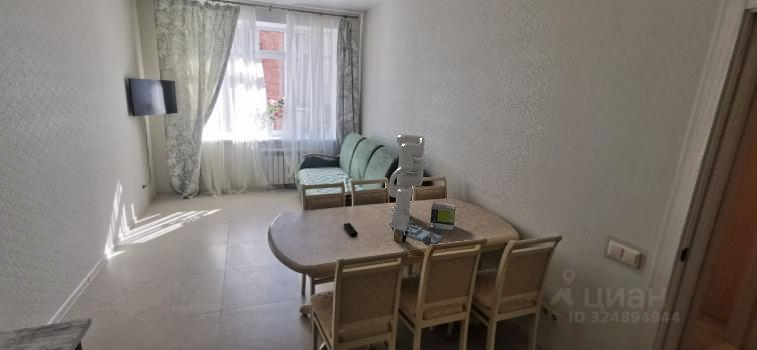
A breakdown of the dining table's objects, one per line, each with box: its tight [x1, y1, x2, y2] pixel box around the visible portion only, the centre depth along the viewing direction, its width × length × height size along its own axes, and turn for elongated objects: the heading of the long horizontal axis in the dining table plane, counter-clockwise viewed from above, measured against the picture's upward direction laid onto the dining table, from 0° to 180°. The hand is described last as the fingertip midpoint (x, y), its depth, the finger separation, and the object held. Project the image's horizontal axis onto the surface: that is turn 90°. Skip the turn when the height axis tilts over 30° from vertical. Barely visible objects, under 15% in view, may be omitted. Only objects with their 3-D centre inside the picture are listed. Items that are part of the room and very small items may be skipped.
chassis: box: [407, 220, 443, 245], centre depth 216 cm, size 26×16×4 cm, turn 56°
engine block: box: [393, 229, 404, 244], centre depth 207 cm, size 5×5×7 cm
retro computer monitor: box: [429, 201, 457, 231], centre depth 230 cm, size 15×10×15 cm, turn 74°
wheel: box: [426, 224, 437, 234], centre depth 211 cm, size 5×5×5 cm
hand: (399, 239), depth 207 cm, fingers closed on engine block, 5 cm apart
